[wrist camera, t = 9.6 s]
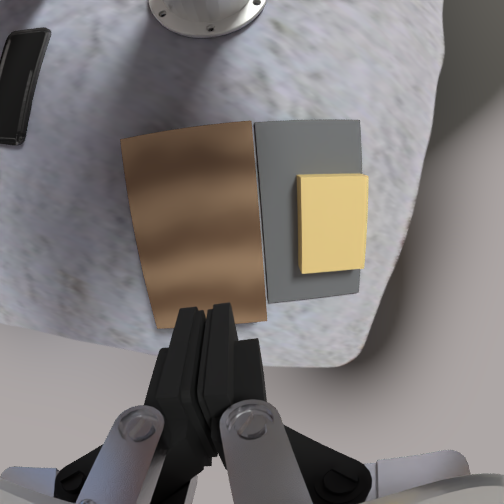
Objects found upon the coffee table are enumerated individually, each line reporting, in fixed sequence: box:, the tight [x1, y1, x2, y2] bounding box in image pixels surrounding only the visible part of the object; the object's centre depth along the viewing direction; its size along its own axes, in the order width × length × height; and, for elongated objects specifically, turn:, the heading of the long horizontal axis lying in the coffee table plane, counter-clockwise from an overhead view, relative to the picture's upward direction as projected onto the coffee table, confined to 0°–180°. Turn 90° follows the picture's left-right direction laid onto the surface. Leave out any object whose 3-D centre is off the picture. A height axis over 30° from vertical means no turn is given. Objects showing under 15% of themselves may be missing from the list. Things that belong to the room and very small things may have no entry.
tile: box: [297, 174, 368, 274], centre depth 32 cm, size 10×7×2 cm
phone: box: [0, 27, 51, 145], centre depth 25 cm, size 8×1×15 cm
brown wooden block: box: [120, 121, 267, 329], centre depth 31 cm, size 20×12×4 cm, turn 5°
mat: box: [255, 120, 362, 303], centre depth 33 cm, size 20×11×1 cm, turn 5°
